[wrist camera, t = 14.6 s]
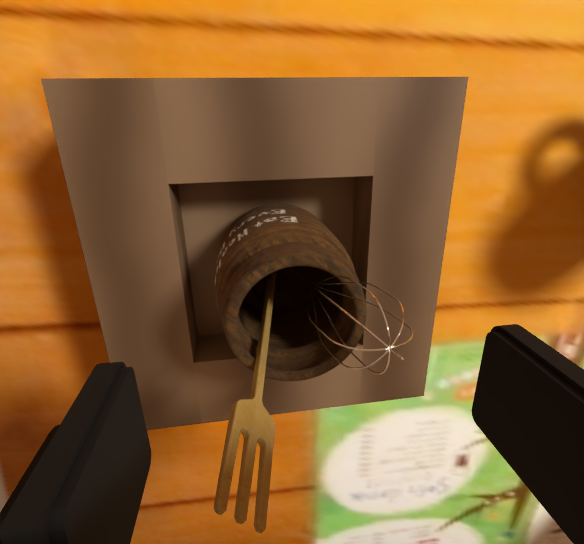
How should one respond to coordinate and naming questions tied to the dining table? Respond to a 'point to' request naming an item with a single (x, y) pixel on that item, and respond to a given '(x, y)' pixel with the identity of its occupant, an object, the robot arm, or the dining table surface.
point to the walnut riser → (243, 197)
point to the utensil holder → (283, 326)
